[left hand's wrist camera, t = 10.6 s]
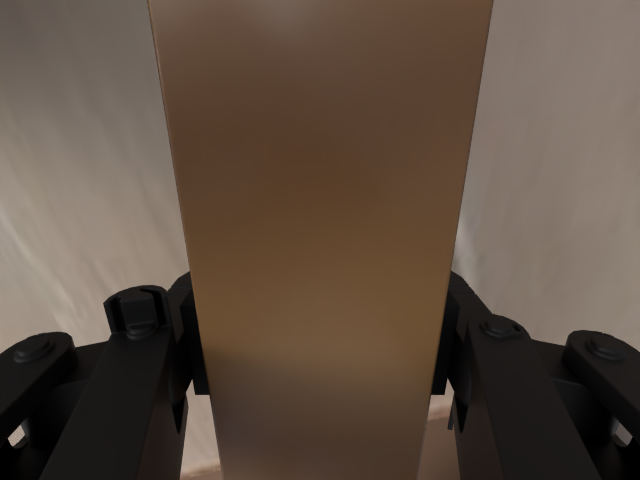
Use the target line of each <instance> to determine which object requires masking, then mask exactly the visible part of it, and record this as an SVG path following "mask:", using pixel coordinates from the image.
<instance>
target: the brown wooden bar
mask: <svg viewBox="0 0 640 480" xmlns="http://www.w3.org/2000/svg"><path fill="white" fill-rule="evenodd" d="M147 2H148V9H149V15H150V21H151V28H152V34H153V40H154V47H155V53H156V59H157V66H158V72H159V78H160V85H161V91H162V97H163V104H164V110H165V116H166V123H167V129H168V135H169V142H170V148H171V154H172V160H173V167H174V173H175V179H176V186H177V192H178V198H179V205H180V211H181V217H182V224H183V230H184V236H185V243H186V249H187V255H188V262H189V268H190V274H191V281H192V287H193V293H194V300H195V306H196V312H197V319H198V325H199V331H200V338H201V344H202V350H203V357H204V363H205V369H206V376H207V382H208V388H209V394H210V401H211V407H212V413H213V420H214V426H215V432H216V439H217V445H218V451H219V458H220V464H221V470H222V477H223V480H418V474H419V468H420V462H421V455H422V449H423V442H424V436H425V430H426V424H427V417H428V411H429V405H430V398H431V392H432V386H433V379H434V373H435V367H436V360H437V354H438V348H439V341H440V335H441V329H442V323H443V316H444V310H445V304H446V297H447V291H448V285H449V278H450V272H451V266H452V259H453V253H454V247H455V240H456V234H457V228H458V221H459V215H460V209H461V202H462V196H463V190H464V183H465V177H466V171H467V165H468V158H469V152H470V146H471V139H472V133H473V127H474V120H475V114H476V108H477V101H478V95H479V89H480V82H481V76H482V70H483V63H484V57H485V51H486V44H487V38H488V32H489V26H490V19H491V13H492V7H493V0H147Z"/></svg>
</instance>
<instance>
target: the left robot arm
mask: <svg viewBox="0 0 640 480" xmlns="http://www.w3.org/2000/svg"><path fill="white" fill-rule="evenodd" d="M103 304H104V308H105V312H106V315H107V319H108V323H109V326H110V330H111V336H110V338H109V340H108V341H105V342H101V343H96V344H90V345H85V346H80V347H75V346H74V342H73V339H72V337H71V336H70V335H69V334H67V333H64V332H49V333H41V334H38V335H34V336H31V337H28V338H27V339H25V340H23V341H20V342H18V343H16V344H14V345H13V346H11V347H10V348H8V349H7V350H5V351H4V352H2V353H1V354H0V480H180V472H181V464H182V455H183V447H184V439H185V431H186V423H187V414H188V401H187V396H186V391H187V389H188V387H189V385H190V383H191V380H192V379H193V385H194V391H195V395H210V394H209V388H208V382H207V376H206V369H205V363H204V357H203V350H202V344H201V338H200V331H199V325H198V319H197V312H196V306H195V300H194V293H193V287H192V281H191V274H190V271H189V272H188V273H186V274H184V275H183V276H181V277H179V278H178V279H177V280H176V281H175V283H174V284H173V285H172V286H171V288H170V289H169V290H168V291H166V290H165V289H164V288H162V287H160V286H155V285H142V286H136V287H131V288H128V289H125V290H122V291H120V292H117V293H116V294H114V295H112V296H110V297H109V298H108V299H107V300H106V301H105V302H104V303H103ZM447 378H448V379H449V381H450V384H451V386H452V388H453V390H454V396H453V401H452V406H451V412H450V417H449V422H448V429H449V430H452V428H453V423H454V430H455V438H456V446H457V455H458V462H459V471H460V479H461V480H640V352H639V351H638V350H636V349H635V348H633V347H632V346H630V345H629V344H627V343H625V342H624V341H622V340H619V339H617V338H615V337H613V336H611V335H609V334H605V333H604V334H603V333H602V332H597V331H587V330H579V331H573V332H572V333H571V334H569V335H568V338H567V341H566V344H565V346H563V345H557V344H552V343H547V342H542V341H537V340H533V339H531V338H530V336H529V334H528V332H527V331H526V330H525V329H524V327H522V326H521V325H520V324H518V323H517V322H515V321H513V320H511V319H508V318H506V317H504V316H500V315H495V314H492V313H491V312H490V310H489V309H488V308H487V307H486V306H485V304H484V303H483V302H482V301H481V300H480V298H479V297H478V296H477V295H476V294H475V292H474V291H473V290H472V289H471V288H470V287H469V285H468V284H467V283H466V282H465V280H464V279H463V278H462V277H461V276H459V275H457V274H456V273H454V272H452V271H451V272H450V278H449V285H448V291H447V297H446V304H445V310H444V316H443V323H442V329H441V335H440V341H439V348H438V354H437V360H436V367H435V373H434V379H433V386H432V392H431V395H445V389H446V383H447ZM619 423H621V424H622V425H623V426H624V427H625V429H626V430H627V431H628V432H629V433H630V434H631V435H632V436H633V437H632V439H631V441H630V443H629V444H628V445H626V444H625V443H624V442H623V441H622V440H621V439H620V438H619V437H618V436H617V435H616V434H615V432H616V430H617V428H618V425H619ZM20 424H21V426H22V429H23V431H24V433H25V436H24V437H23V438H22V439H21V440H20V441H19V442H18V443H17V444H16V445H14V446H11V444H10V442H9V440H8V437H9V436H10V435H11V434H12V433H13V432H14V431H15V430H16V429H17V428H18V427H19V425H20Z"/></svg>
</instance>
